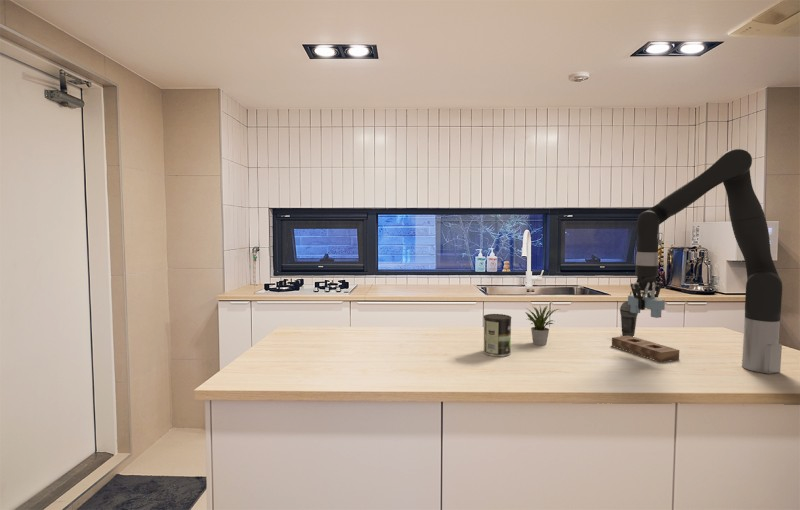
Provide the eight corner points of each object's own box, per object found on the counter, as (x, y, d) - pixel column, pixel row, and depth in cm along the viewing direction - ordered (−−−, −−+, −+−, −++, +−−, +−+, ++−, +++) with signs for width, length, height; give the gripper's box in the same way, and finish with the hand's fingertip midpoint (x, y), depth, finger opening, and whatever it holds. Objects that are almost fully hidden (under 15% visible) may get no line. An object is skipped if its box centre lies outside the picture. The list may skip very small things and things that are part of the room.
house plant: (556, 339, 187) (557, 301, 186) (564, 348, 174) (566, 307, 172) (521, 338, 189) (522, 300, 188) (527, 347, 175) (528, 306, 174)
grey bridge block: (664, 317, 162) (664, 300, 161) (657, 318, 160) (657, 300, 160) (634, 311, 174) (634, 295, 173) (627, 312, 173) (628, 295, 172)
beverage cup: (633, 334, 195) (634, 290, 194) (640, 339, 188) (642, 292, 186) (616, 334, 196) (617, 289, 194) (622, 338, 189) (624, 292, 187)
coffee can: (510, 349, 172) (510, 314, 171) (511, 357, 162) (512, 319, 161) (483, 348, 174) (483, 313, 173) (482, 355, 164) (483, 318, 163)
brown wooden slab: (679, 359, 160) (679, 350, 159) (660, 362, 157) (661, 352, 156) (628, 343, 180) (628, 335, 180) (611, 346, 177) (611, 337, 177)
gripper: (641, 265, 160) (640, 312, 161) (669, 264, 165) (668, 309, 166) (624, 264, 167) (623, 308, 168) (652, 262, 172) (650, 306, 173)
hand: (645, 309), depth 167 cm, fingers closed on grey bridge block, 3 cm apart
